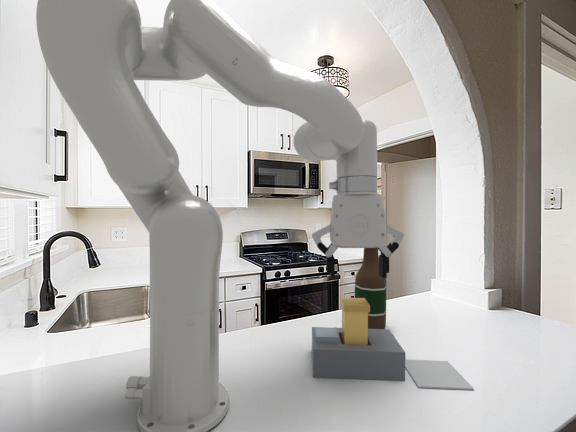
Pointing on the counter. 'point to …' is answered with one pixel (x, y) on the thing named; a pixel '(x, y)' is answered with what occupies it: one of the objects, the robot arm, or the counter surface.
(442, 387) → the mat
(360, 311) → the plug
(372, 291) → the beer bottle
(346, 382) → the counter surface
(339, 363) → the grey block with hole
